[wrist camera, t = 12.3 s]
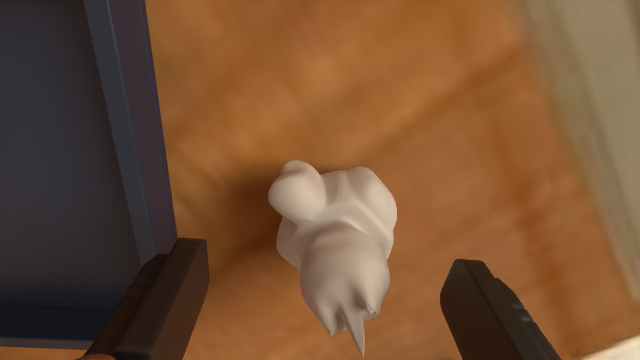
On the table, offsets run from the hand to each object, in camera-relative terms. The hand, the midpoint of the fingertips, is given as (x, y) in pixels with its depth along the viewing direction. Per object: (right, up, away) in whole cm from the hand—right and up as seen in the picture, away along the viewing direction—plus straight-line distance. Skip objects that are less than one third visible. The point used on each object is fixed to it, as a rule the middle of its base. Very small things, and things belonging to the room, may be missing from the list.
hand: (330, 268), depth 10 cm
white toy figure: (0, +2, +6) cm, 6 cm away
